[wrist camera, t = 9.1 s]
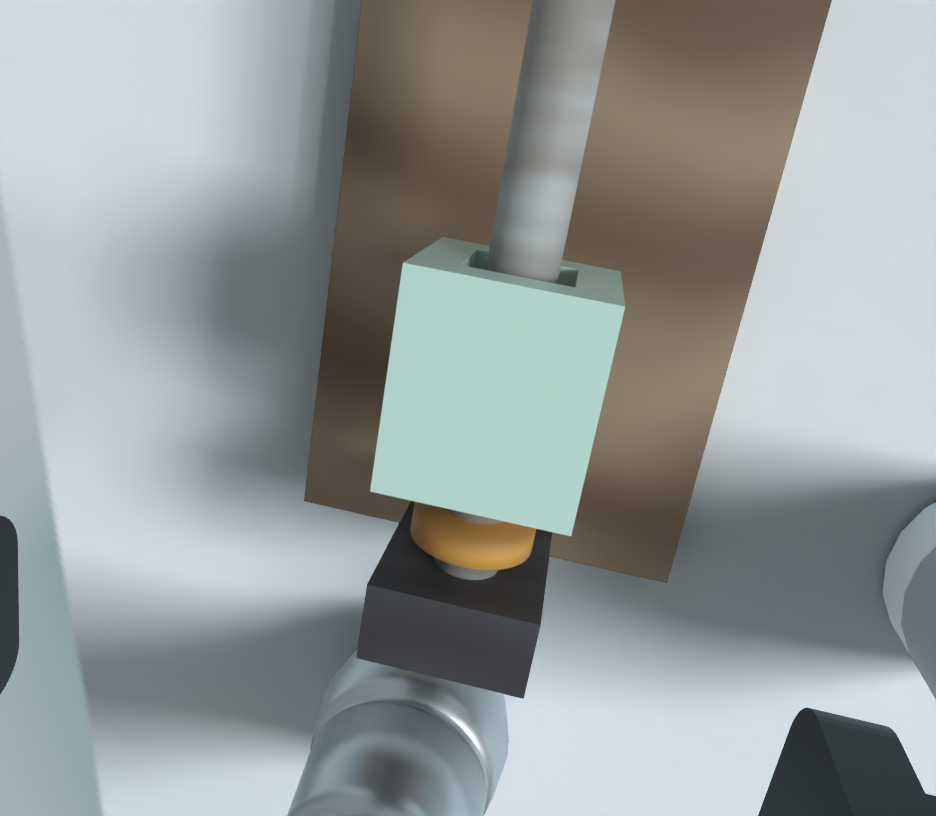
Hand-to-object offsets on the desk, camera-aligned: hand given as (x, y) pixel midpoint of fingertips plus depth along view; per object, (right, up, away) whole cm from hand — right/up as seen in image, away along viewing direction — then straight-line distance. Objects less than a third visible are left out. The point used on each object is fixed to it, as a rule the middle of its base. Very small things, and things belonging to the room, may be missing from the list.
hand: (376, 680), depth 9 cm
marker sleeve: (+2, +4, +13) cm, 14 cm away
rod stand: (+3, +9, +17) cm, 19 cm away
